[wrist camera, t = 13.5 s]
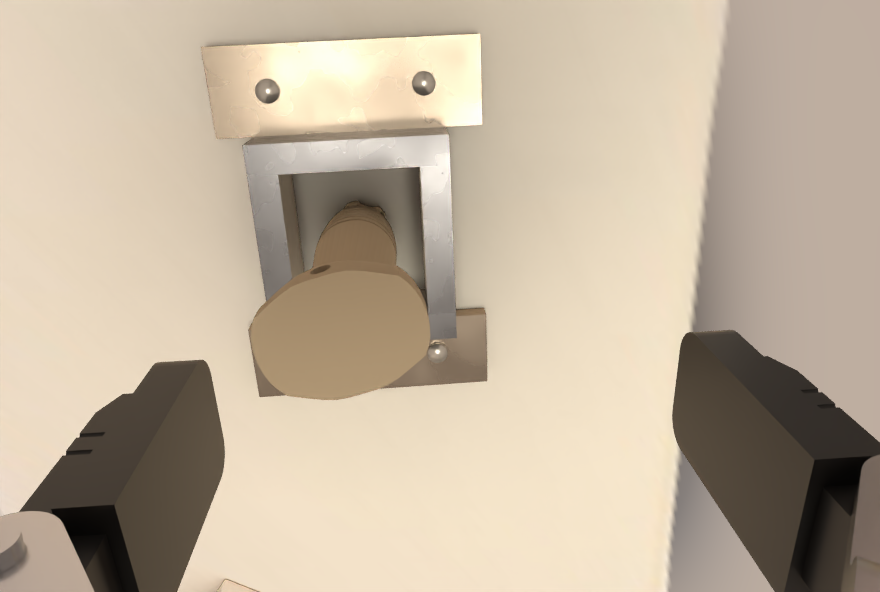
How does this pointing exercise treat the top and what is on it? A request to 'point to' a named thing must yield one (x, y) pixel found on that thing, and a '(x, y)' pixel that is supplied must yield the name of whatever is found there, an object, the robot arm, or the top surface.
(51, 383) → the top surface
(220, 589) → the milk
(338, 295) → the handle
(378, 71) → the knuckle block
